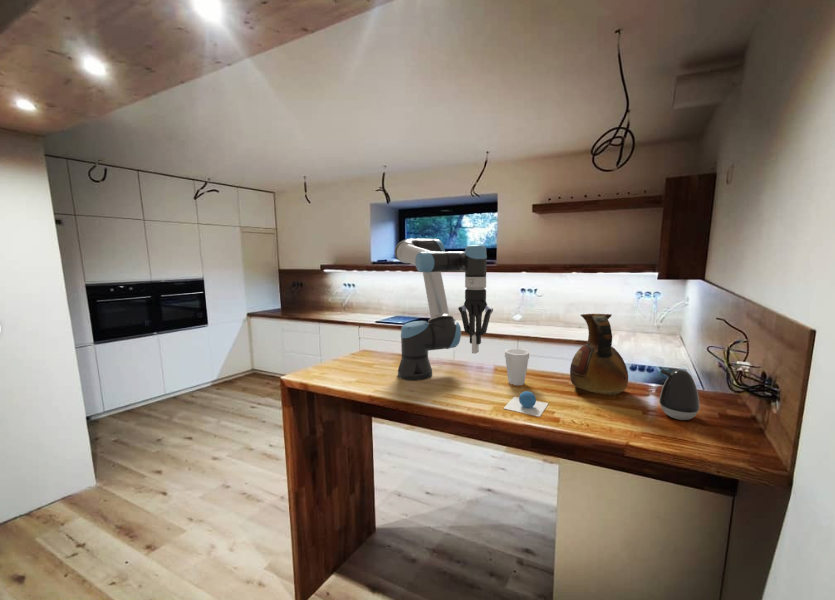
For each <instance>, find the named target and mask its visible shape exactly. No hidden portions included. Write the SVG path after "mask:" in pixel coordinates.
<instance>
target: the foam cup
mask: <svg viewBox="0 0 835 600" xmlns="http://www.w3.org/2000/svg"><path fill="white" fill-rule="evenodd" d="M504 358H505V366H506V374H507V381H508V384H509V383H510V385H512V384H513V386H523V384H524V385H525V382H526V377H527V376H526V375H527V369H528V365H529V360H530V351H529V350H526V349H521V348H508V349H505V350H504Z"/></svg>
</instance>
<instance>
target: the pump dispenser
mask: <svg viewBox="0 0 835 600" xmlns="http://www.w3.org/2000/svg"><path fill="white" fill-rule="evenodd" d="M660 373H661V374H663V375H665V376H667V378H666V380H665V381H664V384H663V385H662V388H661V390H660V391H661V392H660V394H659V400H658V401H659V404H660V407H661V409H662V411H663V413H665V414H666V415H667V416H669V417H671V418H673V419H676V420H679V421H689V420H691V419H693V418H695V416H696V415H697V414H698V412H699V411H700V404H701V403H700V397H699V391H698V388H697V384H696V382H695V381H694V380H695V379H694V378H693V376H692V375H691V374H690V372H688V371H687V370H684V369H674V370H673V371H672V372H669V371H667V370H665V369H661V370H660Z"/></svg>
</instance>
